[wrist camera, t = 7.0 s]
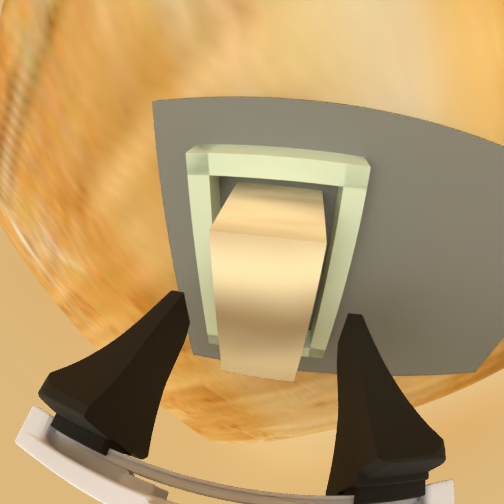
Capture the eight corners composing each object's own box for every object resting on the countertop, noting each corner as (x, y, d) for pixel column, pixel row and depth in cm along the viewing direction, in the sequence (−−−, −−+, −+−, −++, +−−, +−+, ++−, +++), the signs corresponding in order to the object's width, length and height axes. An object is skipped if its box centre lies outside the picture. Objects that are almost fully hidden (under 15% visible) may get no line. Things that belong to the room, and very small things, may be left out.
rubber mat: (574, 181, 9) (578, 185, 8) (473, 368, 20) (474, 372, 19) (157, 100, 12) (152, 101, 12) (195, 349, 23) (193, 354, 23)
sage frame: (364, 156, 12) (370, 167, 11) (322, 340, 19) (322, 358, 18) (197, 143, 13) (185, 152, 12) (214, 326, 20) (208, 343, 19)
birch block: (299, 322, 18) (293, 381, 15) (238, 314, 19) (221, 371, 15) (322, 190, 13) (326, 243, 10) (237, 182, 14) (208, 230, 10)
